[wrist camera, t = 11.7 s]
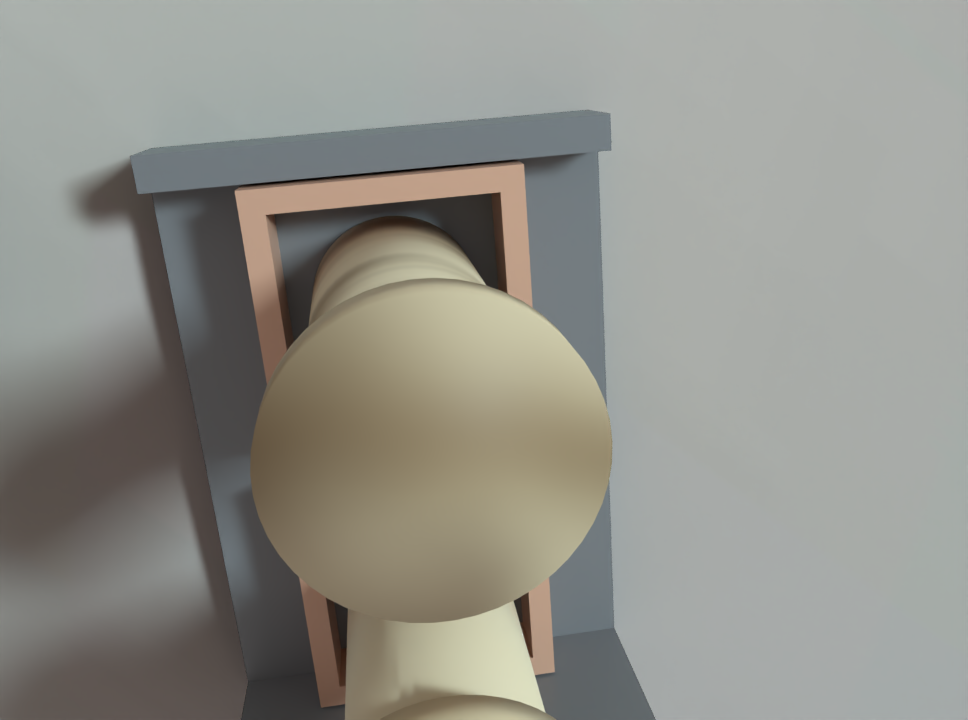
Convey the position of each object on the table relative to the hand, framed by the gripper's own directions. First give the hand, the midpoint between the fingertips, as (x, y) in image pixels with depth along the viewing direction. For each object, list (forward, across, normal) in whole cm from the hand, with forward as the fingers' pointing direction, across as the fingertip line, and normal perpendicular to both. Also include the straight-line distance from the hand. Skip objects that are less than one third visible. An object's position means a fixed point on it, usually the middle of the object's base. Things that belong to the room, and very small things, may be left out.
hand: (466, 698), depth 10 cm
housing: (+19, 0, +4) cm, 19 cm away
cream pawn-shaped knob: (+18, 0, 0) cm, 18 cm away
